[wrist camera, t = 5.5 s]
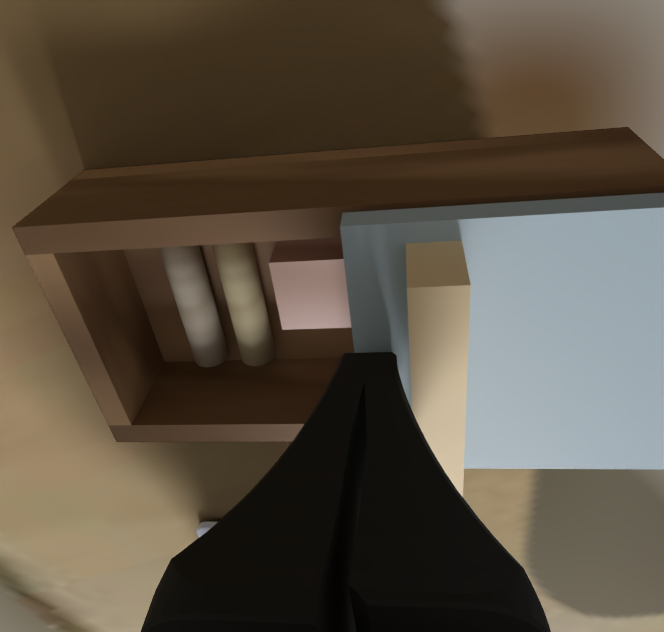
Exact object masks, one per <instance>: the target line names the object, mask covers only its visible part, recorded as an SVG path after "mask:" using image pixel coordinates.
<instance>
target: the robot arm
mask: <svg viewBox="0 0 664 632" xmlns="http://www.w3.org/2000/svg"><path fill="white" fill-rule="evenodd" d="M197 535H198V537H199V538H198V539H197V540H196V541H194V542H193V543H192V544H190V545H189V546H188V547H187V548H185V549H184V550H183V551H182V552H180V553H179V554H178V555H176V556H175V557H174V558H172V559H171V561H170V563H169V565H168V567H167V569H166V571H165V573H164V575H163V577H162V579H161V581H160V583H159V585H158V587H157V589H156V591H155V594H154V596H153V599H152V602H151V604H150V607H149V610H148V613H147V616H146V618H145V621H144V624H143V627H142V630H141V632H551V631H550V628H549V624H548V622H547V619H546V616H545V613H544V610H543V608H542V605H541V603H540V601H539V599H538V597H537V594H536V592H535V590H534V588H533V586H532V584H531V582H530V580H529V578H528V576H527V574H526V572H525V570H524V568H523V567H522V566H521V565H520V564H519V563H518V562H517V561H516V560H515V559H514V558H513V557H512V556H511V555H510V554H509V553H508V551H507V550H506V549H505V548H504V547H503V546H502V545H501V544H500V543H499V542H498V540H497V539H496V538H495V537H494V536H493V535H492V534H491V532H490V531H489V530H488V529H487V528H486V526H485V525H484V524H483V523H482V522H481V521H480V519H479V518H478V517H477V516H476V514H475V513H474V512H473V510H472V509H471V508H470V506H469V505H468V504H467V502H466V501H465V500H464V498H463V497H462V496H461V494H460V493H459V492H458V490H457V489H456V488H455V486H454V485H453V483H452V482H451V480H450V479H449V477H448V476H447V474H446V473H445V471H444V470H443V468H442V466H441V465H440V463H439V461H438V460H437V458H436V457H435V455H434V453H433V451H432V450H431V448H430V446H429V444H428V442H427V440H426V438H425V437H424V435H423V433H422V431H421V429H420V427H419V425H418V423H417V420H416V418H415V416H414V414H413V411H412V409H411V407H410V404H409V402H408V399H407V397H406V394H405V391H404V388H403V385H402V382H401V379H400V375H399V371H398V366H397V355H395V354H394V353H393V352H367V353H344V354H343V355H342V356H341V357H340V360H339V362H338V365H337V367H336V369H335V372H334V374H333V376H332V378H331V380H330V382H329V384H328V386H327V387H326V389H325V391H324V393H323V395H322V396H321V398H320V400H319V402H318V403H317V405H316V407H315V408H314V410H313V412H312V413H311V415H310V417H309V418H308V420H307V421H306V423H305V424H304V425H303V427H302V428H301V430H300V431H299V433H298V434H297V436H296V437H295V439H294V440H293V442H292V443H291V444H290V446H289V447H288V448H287V450H286V451H285V452H284V453H283V455H282V456H281V457H280V458H279V460H278V461H277V462H276V463H275V465H274V466H273V467H272V468H271V469H270V470H269V472H268V473H267V474H266V475H265V476H264V477H263V478H262V479H261V480H260V481H259V483H258V484H257V485H256V486H255V487H254V488H253V489H252V490H251V491H250V492H249V493H248V494H247V495H246V496H245V497H244V498H243V499H242V500H241V501H240V502H239V503H238V504H237V505H236V506H235V507H234V508H233V509H231V510H230V511H229V512H228V513H227V514H226V515H225V516H224V517H223V518H222V519H221V520H220V521H218V522H209V521H206V522H201V523H199V525H198V528H197Z"/></svg>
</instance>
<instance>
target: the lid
mask: <svg viewBox="0 0 664 632" xmlns="http://www.w3.org/2000/svg"><path fill="white" fill-rule="evenodd" d="M340 231H341V239H342V248H343V257H344V266H345V275H346V283H347V292H348V301H349V310H350V318H351V327H352V336H353V345H354V353H367V352H393V353H394V354H395V355H397V366H398V371H399V375H400V379H401V382H402V385H403V388H404V391H405V394H406V397H407V399H408V402H409V404H410V407H411V409H412V411H413V414H414V416H415V418H416V420H417V423H418V425H419V427H420V429H421V431H422V433H423V435H424V437H425V438H426V440H427V442H428V444H429V446H430V448H431V450H432V451H433V453H434V455H435V457H436V458H437V460H438V461H439V463H440V465H441V466H442V468H443V470H444V471H445V473H446V474H447V476H448V477H449V479H450V480H451V482H452V483H453V485H454V486H455V488H456V489H457V490H458V492H459V493H460V494H461V496H462V497H463V477H464V468H482V469H664V193H650V194H634V195H618V196H602V197H586V198H570V199H554V200H538V201H522V202H506V203H490V204H474V205H458V206H442V207H426V208H410V209H394V210H378V211H363V212H347V213H342V219H341V224H340Z"/></svg>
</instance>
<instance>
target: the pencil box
mask: <svg viewBox="0 0 664 632" xmlns="http://www.w3.org/2000/svg"><path fill="white" fill-rule="evenodd" d="M650 193H664V159H663V158H662V157H661V156H659V155H658V154H657V153H656V152H655V151H654V150H653V149H652V148H651V147H649V146H648V145H647V144H646V143H645V142H644V141H643V140H642V139H640V138H639V137H638V136H637V135H636V134H635V133H634V132H633V131H632V130H631V129H629V128H628V127H622V128H610V129H597V130H584V131H572V132H559V133H547V134H534V135H522V136H510V137H496V138H483V139H471V140H458V141H445V142H433V143H420V144H407V145H395V146H382V147H369V148H357V149H344V150H331V151H319V152H306V153H294V154H281V155H268V156H256V157H243V158H230V159H218V160H205V161H192V162H180V163H167V164H154V165H142V166H129V167H117V168H104V169H91V170H83V171H82V172H81V173H80V174H78V175H77V176H76V177H75V178H73V179H72V180H71V181H70V182H68V183H67V184H66V185H65V186H63V187H62V188H61V189H60V190H58V191H57V192H56V193H55V194H53V195H52V196H51V197H50V198H48V199H47V200H46V201H45V202H43V203H42V204H41V205H40V206H38V207H37V208H36V209H35V210H33V211H32V212H31V213H29V214H28V215H27V216H26V217H24V218H23V219H22V220H21V221H19V222H18V223H17V224H16V225H14V226H13V227H12V229H13V231H14V233H15V235H16V237H17V239H18V241H19V243H20V245H21V248H22V250H23V252H24V254H25V256H26V258H27V260H28V262H29V264H30V266H31V268H32V270H33V272H34V274H35V276H36V278H37V280H38V282H39V284H40V286H41V288H42V290H43V292H44V295H45V297H46V299H47V301H48V303H49V305H50V307H51V309H52V311H53V313H54V315H55V317H56V319H57V321H58V323H59V325H60V327H61V329H62V331H63V333H64V335H65V337H66V339H67V342H68V344H69V346H70V348H71V350H72V352H73V354H74V356H75V358H76V360H77V362H78V364H79V366H80V368H81V370H82V372H83V374H84V376H85V378H86V380H87V382H88V384H89V386H90V389H91V391H92V393H93V395H94V397H95V399H96V401H97V403H98V405H99V407H100V409H101V411H102V413H103V415H104V417H105V419H106V421H107V423H108V425H109V427H110V429H111V431H112V433H113V436H114V438H115V440H116V442H293V440H294V439H295V437H296V436H297V434H298V433H299V431H300V430H301V428H302V427H303V425H304V424H305V423H306V421H307V420H308V418H309V417H310V415H311V413H312V412H313V410H314V408H315V407H316V405H317V403H318V402H319V400H320V398H321V396H322V395H323V393H324V391H325V389H326V387H327V386H328V384H329V382H330V380H331V378H332V376H333V374H334V372H335V369H336V367H337V365H338V362H339V360H340V357H341V356H342V355H343V354H344V353H354V345H353V336H352V327H351V318H350V310H349V301H348V292H347V283H346V275H345V266H344V257H343V248H342V239H341V231H340V224H341V219H342V213H347V212H363V211H378V210H394V209H410V208H426V207H442V206H458V205H474V204H490V203H506V202H522V201H538V200H554V199H570V198H586V197H602V196H618V195H634V194H650Z"/></svg>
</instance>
